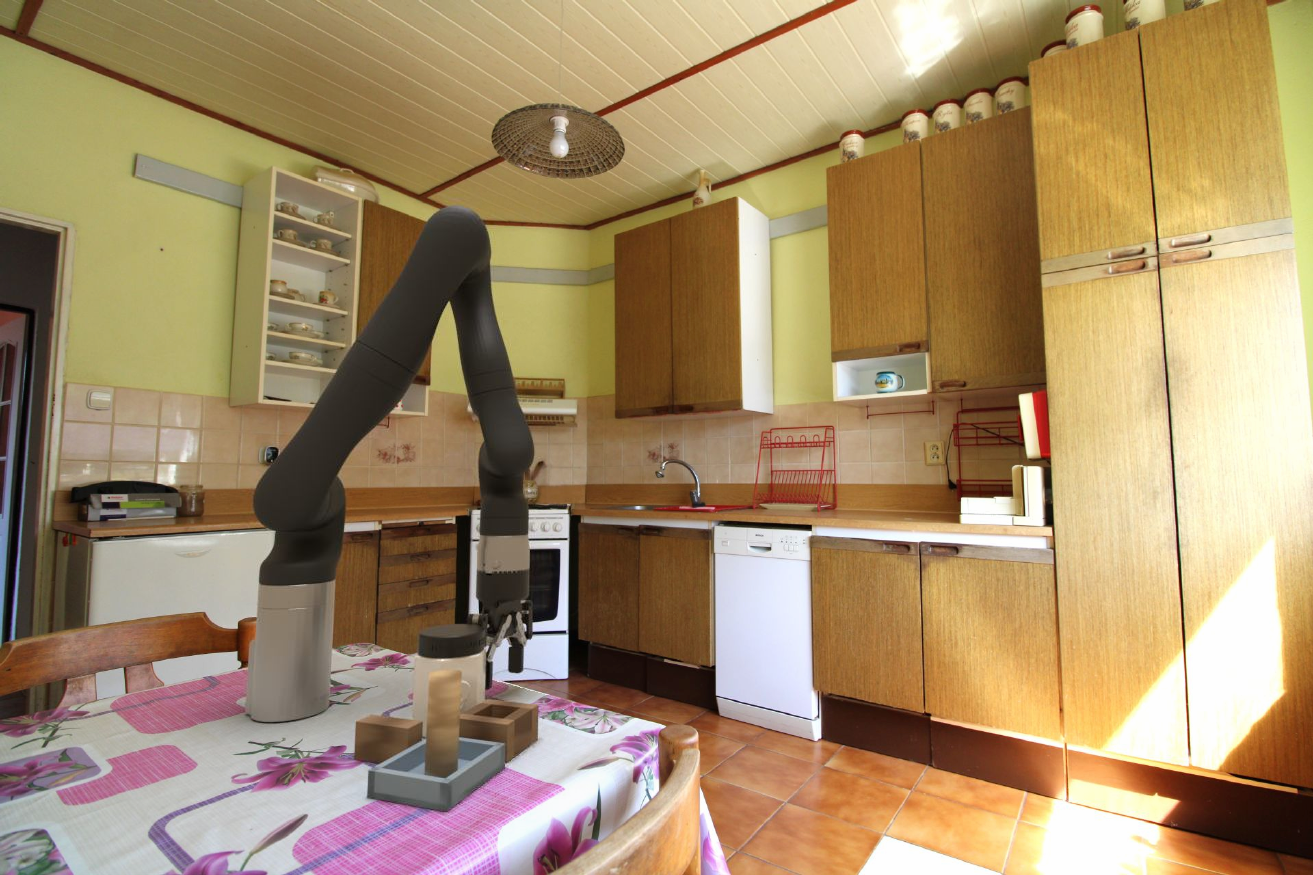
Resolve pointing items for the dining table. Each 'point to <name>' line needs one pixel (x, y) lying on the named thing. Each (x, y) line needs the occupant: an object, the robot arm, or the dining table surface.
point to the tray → (411, 787)
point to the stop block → (385, 737)
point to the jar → (450, 664)
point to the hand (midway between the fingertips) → (500, 680)
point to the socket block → (502, 724)
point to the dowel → (443, 723)
